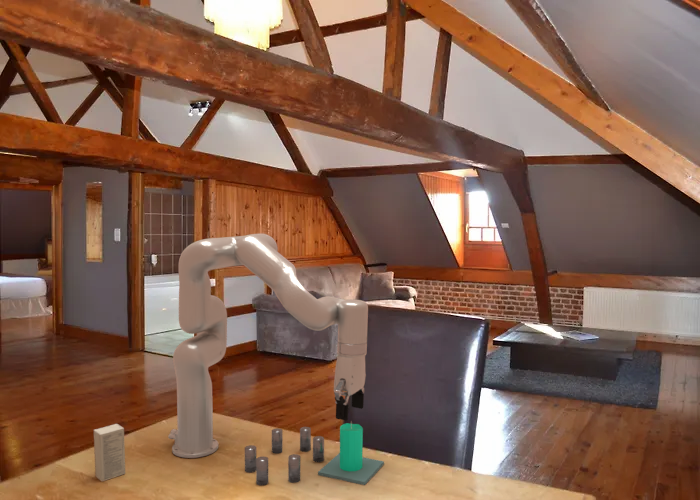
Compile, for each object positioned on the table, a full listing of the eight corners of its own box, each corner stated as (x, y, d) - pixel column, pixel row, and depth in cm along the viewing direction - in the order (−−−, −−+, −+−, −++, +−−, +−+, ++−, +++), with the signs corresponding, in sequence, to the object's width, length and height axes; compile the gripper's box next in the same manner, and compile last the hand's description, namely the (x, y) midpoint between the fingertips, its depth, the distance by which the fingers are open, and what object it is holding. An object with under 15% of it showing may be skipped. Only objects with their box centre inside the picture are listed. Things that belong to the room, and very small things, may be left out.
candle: (360, 472, 147) (360, 426, 147) (337, 470, 149) (337, 424, 148) (364, 462, 153) (364, 418, 152) (342, 460, 154) (342, 416, 154)
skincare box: (118, 468, 151) (117, 423, 150) (126, 474, 147) (125, 427, 147) (93, 476, 146) (92, 429, 145) (100, 482, 143) (99, 434, 142)
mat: (317, 475, 148) (317, 471, 148) (339, 455, 159) (339, 452, 159) (364, 485, 142) (364, 482, 142) (383, 464, 154) (384, 461, 154)
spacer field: (231, 478, 145) (231, 455, 145) (283, 442, 168) (283, 422, 168) (287, 491, 139) (287, 467, 138) (333, 452, 161) (333, 431, 161)
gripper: (352, 339, 158) (350, 401, 159) (323, 353, 142) (321, 421, 144) (378, 343, 155) (375, 405, 156) (351, 357, 139) (349, 427, 141)
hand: (349, 413), depth 150 cm, fingers open, 9 cm apart
